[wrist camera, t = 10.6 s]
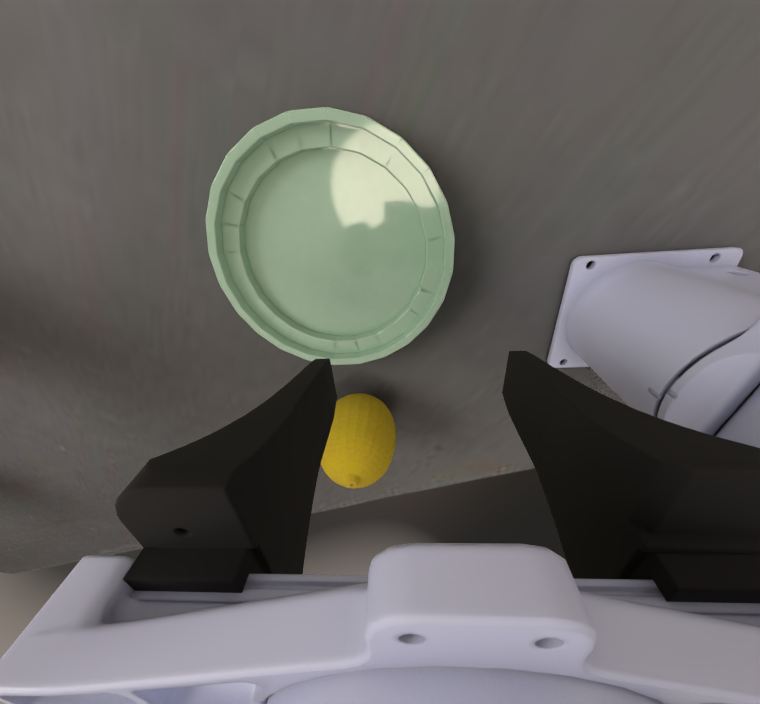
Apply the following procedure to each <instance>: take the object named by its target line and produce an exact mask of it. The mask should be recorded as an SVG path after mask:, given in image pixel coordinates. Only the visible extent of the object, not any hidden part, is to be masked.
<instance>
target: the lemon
mask: <svg viewBox="0 0 760 704" xmlns="http://www.w3.org/2000/svg"><path fill="white" fill-rule="evenodd" d="M395 445H396V430H395V423H394V419H393V417H392V415H391V413H390V411H389V409H388V408H387V407H386V405H385V404H384V403H383V402H382V401H381V400H379V399H378V398H376V397H374V396H372V395H369V394H364V393H354V394H350V395H347V396H345V397H342V398H341V399H339V400H338V401H337V402H336V408H335V414H334V419H333V423H332V426H331V430H330V433H329V437H328V440H327V443H326V447H325V450H324V454H323V457H322V460H321V465H322V467H323V469H324V471H325V473H326V474H327V475H328V476H329V477H330V478H331V479H332V480H333V481H334V482H336V483H337V484H339V485H341V486H344V487H348V488H362V487H366V486H368V485H371V484H373V483H375V482H376V481H377V480H378V479H380V478H381V477H382V476H383V475H384V474H385V472H386V470H387V469H388V467H389V465H390V463H391V461H392V458H393V454H394V450H395Z"/></svg>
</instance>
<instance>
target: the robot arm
mask: <svg viewBox="0 0 760 704" xmlns="http://www.w3.org/2000/svg"><path fill="white" fill-rule="evenodd" d="M713 255H714V257H713V258H712V259H711V260H710V258H711V257H712V256H713ZM742 255H743V250H742V249H741V248H736V247H723V248H706V249H689V250H673V251H656V252H639V253H623V254H606V255H590V256H579V257H577V258H575V259H574V260H573V261H572V263H571V266H570V270H569V274H568V278H567V282H566V286H565V290H564V294H563V298H562V302H561V306H560V310H559V314H558V319H557V323H556V327H555V331H554V335H553V339H552V343H551V347H550V351H549V355H548V359H547V363H548V364H547V363H546V362H544V361H542V360H541V359H539V358H538V357H536V356H534V355H532V354H531V353H529V352H527V351H509V356H508V362H507V368H506V374H505V380H504V386H503V392H502V393H503V396H504V400H505V403H506V406H507V409H508V412H509V415H510V417H511V419H512V421H513V423H514V425H515V427H516V429H517V432H518V434H519V436H520V438H521V440H522V442H523V444H524V446H525V448H526V450H527V452H528V454H529V456H530V458H531V460H532V462H533V464H534V466H535V469H536V471H537V473H538V476H539V479H540V482H541V484H542V487H543V490H544V493H545V495H546V498H547V501H548V504H549V507H550V510H551V513H552V516H553V519H554V522H555V525H556V528H557V532H558V535H559V538H560V541H561V544H562V548H563V551H564V554H565V558H566V560H565V559H563V558H562V557H560V556H559V555H557V554H555V553H554V552H552V551H551V550H549V549H547V548H545V547H540V546H534V545H527V544H472V543H471V544H470V543H468V544H467V543H466V544H465V543H410V544H403V545H396V546H391V547H389V548H387V549H386V550H384V551H382V552H380V553H378V554H377V555H376V556H374V557H373V559H372V562H371V565H370V567H369V574H368V575H307V574H302V573H303V565H304V557H305V549H306V542H307V536H308V528H309V522H310V516H311V510H312V504H313V498H314V492H315V487H316V481H317V476H318V472H319V468H320V464H321V460H322V457H323V454H324V450H325V447H326V443H327V440H328V437H329V433H330V430H331V426H332V423H333V419H334V414H335V408H336V401H337V395H336V390H335V384H334V379H333V373H332V368H331V362H330V358H325V359H315V360H313V361H312V362H311V363H310V364H309V365H308V366H307V367H305V368H304V369H303V370H302V371H301V372H300V373H299V374H298V375H297V376H296V377H295V378H293V379H292V380H291V381H290V382H289V383H288V384H287V385H285V386H284V387H283V388H282V389H280V390H279V391H278V392H277V393H276V394H274V395H273V396H272V397H271V398H269V399H268V400H267V401H265V402H264V403H263V404H261V405H260V406H258V407H257V408H255V409H254V410H252V411H251V412H249V413H248V414H246V415H245V416H243V417H241V418H239V419H238V420H236V421H234V422H232V423H231V424H229V425H227V426H225V427H224V428H222V429H220V430H218V431H216V432H214V433H212V434H210V435H208V436H206V437H204V438H202V439H199V440H197V441H195V442H193V443H191V444H188V445H186V446H184V447H181V448H178V449H176V450H173V451H171V452H168V453H166V454H163V455H161V456H158V457H156V458H153V459H150V460H149V461H148V463H147V464H146V465H145V466H144V467H143V468H142V470H141V471H140V472H139V473H138V474H137V476H136V477H135V478H134V479H133V480H132V481H131V483H130V484H129V485H128V486H127V487H126V488H125V490H124V491H123V492H122V493H121V494H120V496H119V497H118V498H117V501H116V504H115V507H116V511H117V516H118V517H119V519H120V520H121V522H122V523H123V524H124V525H125V527H126V528H127V529H128V530H129V531H130V532H131V533H132V535H133V536H134V537H135V538H136V539H137V540H138V541H139V543H140V544H141V545H142V546H143V547H144V548H143V550H142V551H141V553H140V554H139V556H138V557H137V559H136V560H134V559H132V558H129V557H126V556H100V555H88V556H85V557H83V558H82V559H81V560H80V562H79V563H78V564H77V565H76V567H75V568H74V569H73V570H72V572H71V573H70V574H69V575H68V576H67V578H66V579H65V580H64V581H63V583H62V584H61V585H60V586H59V588H58V589H57V590H56V591H55V592H54V594H53V595H52V596H51V598H50V599H49V600H48V601H47V602H46V604H45V605H44V606H43V607H42V609H41V610H40V611H39V612H38V614H37V615H36V616H35V617H34V618H33V620H32V621H31V622H30V624H29V625H28V626H27V627H26V628H25V630H24V631H23V632H22V633H21V635H20V636H19V637H18V638H17V640H16V641H15V642H14V643H13V644H12V646H11V647H10V648H9V649H8V651H7V652H6V653H5V654H4V656H3V657H2V658H1V659H0V701H1V702H3V703H6V704H760V273H758V272H755V271H751V270H747V269H744V268H740V267H737V265H738V263H739V261H740V259H741V257H742ZM590 261H592V264H591V266H589V267H587V268H586V265H587V263H588V262H590ZM563 359H565V360H564V361H563V362H560V361H561V360H563ZM568 367H590V368H591V369H592V370H593V371H594V372H595V373H596V374H597V375H598V376H599V377H600V378H601V379H602V380H603V381H604V382H605V383H606V384H607V385H608V386H609V387H610V388H611V389H612V390H613V391H614V392H615V393H616V394H617V395H618V396H619V397H620V398H621V399H622V400H623V401H624V402H625V403H626V404H627V405H628V406H627V405H624V404H622V403H620V402H618V401H615V400H613V399H611V398H609V397H607V396H605V395H602V394H600V393H598V392H596V391H595V390H593V389H591V388H589V387H587V386H585V385H583V384H581V383H579V382H578V381H576V380H574V379H572V378H571V377H569V376H567V375H566V374H564V373H562V372H561V371H559V370H557V369H556V368H568ZM566 561H567V562H566Z"/></svg>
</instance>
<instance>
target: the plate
mask: <svg viewBox="0 0 760 704" xmlns="http://www.w3.org/2000/svg"><path fill="white" fill-rule="evenodd" d="M206 231H207V241H208V251H209V256H210V259H211V262H212V265H213V267H214V270H215V273H216V276H217V279H218V282H219V284H220V286H221V288H222V290H223V291H224V293H225V294H226V296H227V298H228V299H229V301H230V302H231V304H232V306H233V307H234V309H235V310H236V311H237V313H238V314H239V315H240V316H241V317H242V318H243V319H244V320H245V321H246V322H247V323H248V324H249V325H250V326H251V327H252V328H253V329H254V330H255V332H256V333H258V334H259V335H260V336H262V337H263V338H265V339H266V340H268V341H269V342H271V343H272V344H274V345H275V346H277V347H278V348H280V349H282V350H283V351H286V352H288V353H291V354H293V355H295V356H298V357H300V358H303V359H305V360H308V361H313V360H315V359H325V358H330V362H331V365H347V364H361V363H365V362H369V361H372V360H376V359H380V358H383V357H386V356H388V355H390V354H391V353H393V352H395V351H397V350H399V349H400V348H402V347H404V346H406V345H407V344H409V343H410V342H411V341H412V340H413V339H414V338H415V337H416V336H417V335H419V334H420V333H421V332H422V331H423V330H424V329H425V328H426V327H427V326H428V325H429V323H430V322H431V320H432V319H433V317H434V316H435V314H436V312H437V311H438V309H439V308H440V306H441V305H442V303H443V301H444V299H445V296H446V292H447V289H448V286H449V283H450V280H451V277H452V274H453V267H454V247H455V238H454V237H455V235H454V230H453V226H452V221H451V216H450V212H449V207H448V203H447V200H446V198H445V196H444V194H443V192H442V190H441V188H440V186H439V184H438V182H437V180H436V178H435V176H434V174H433V173H432V171H431V169H430V168H429V166H428V165H427V164H426V163H425V161H424V160H423V159H422V158H421V157H420V156H419V155H418V154H417V153H416V152H415V151H414V149H413V148H412V147H411V146H410V145H409V144H408V143H407V142H406V141H405V140H404V139H403V138H402V137H401V136H399V135H398V134H396V133H394V132H393V131H391V130H389V129H388V128H386V127H384V126H383V125H381V124H379V123H378V122H376V121H374V120H373V119H371V118H369V117H366V116H365V115H361V114H356V113H352V112H348V111H343V110H339V109H335V108H331V107H319V108H309V109H299V110H289V111H286V112H284V113H282V114H280V115H277V116H275V117H273V118H271V119H269V120H267V121H265V122H263V123H261V124H259V125H257V126H254V128H252V129H251V130H250V131H249V132H248V133H247V134H246V135H245V136H244V137H243V138H242V139H241V140H240V141H239V142H238V143H237V144H236V145H235V146H234V147H233V148H232V149H231V150H230V151H229V152H228V154H227V155H226V157H225V159H224V161H223V163H222V165H221V167H220V169H219V171H218V173H217V175H216V177H215V179H214V181H213V183H212V186H211V190H210V196H209V202H208V208H207V214H206Z"/></svg>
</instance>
